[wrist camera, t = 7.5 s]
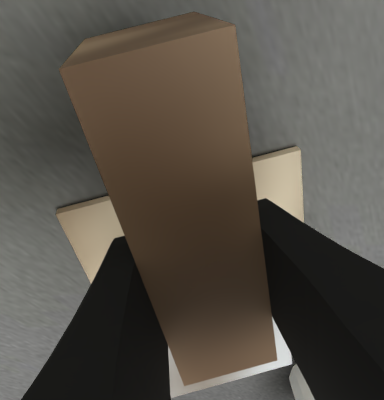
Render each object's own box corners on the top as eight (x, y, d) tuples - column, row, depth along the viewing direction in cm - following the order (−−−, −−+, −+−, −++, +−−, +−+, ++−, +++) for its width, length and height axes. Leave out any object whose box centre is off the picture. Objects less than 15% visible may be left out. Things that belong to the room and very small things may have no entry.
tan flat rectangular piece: (296, 146, 14) (300, 149, 14) (305, 330, 21) (308, 335, 20) (57, 208, 14) (55, 214, 14) (141, 375, 20) (141, 382, 20)
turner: (247, -2, 8) (321, 3, 5) (284, 346, 15) (324, 436, 12) (29, 52, 8) (-31, 92, 5) (169, 378, 15) (180, 477, 12)
